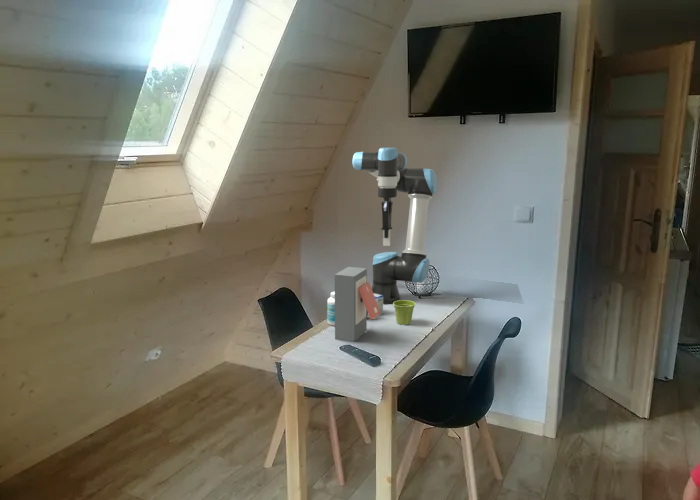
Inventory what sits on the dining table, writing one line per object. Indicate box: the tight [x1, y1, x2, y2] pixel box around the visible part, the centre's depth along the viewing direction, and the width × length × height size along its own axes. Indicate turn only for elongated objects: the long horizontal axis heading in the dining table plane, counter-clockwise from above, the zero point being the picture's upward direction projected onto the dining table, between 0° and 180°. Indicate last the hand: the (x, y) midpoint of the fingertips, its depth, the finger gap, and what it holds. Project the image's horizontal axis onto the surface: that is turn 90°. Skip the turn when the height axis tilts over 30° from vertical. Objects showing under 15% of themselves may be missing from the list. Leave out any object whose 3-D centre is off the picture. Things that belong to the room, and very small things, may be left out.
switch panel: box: [334, 266, 368, 343], centre depth 215 cm, size 14×10×26 cm
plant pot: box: [392, 299, 416, 326], centre depth 232 cm, size 9×9×9 cm
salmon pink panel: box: [358, 281, 381, 321], centre depth 212 cm, size 8×2×13 cm, turn 158°
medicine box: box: [373, 293, 384, 316], centre depth 245 cm, size 8×4×9 cm, turn 50°
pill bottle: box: [326, 291, 335, 327], centre depth 230 cm, size 8×7×14 cm
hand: (386, 245), depth 221 cm, fingers closed
